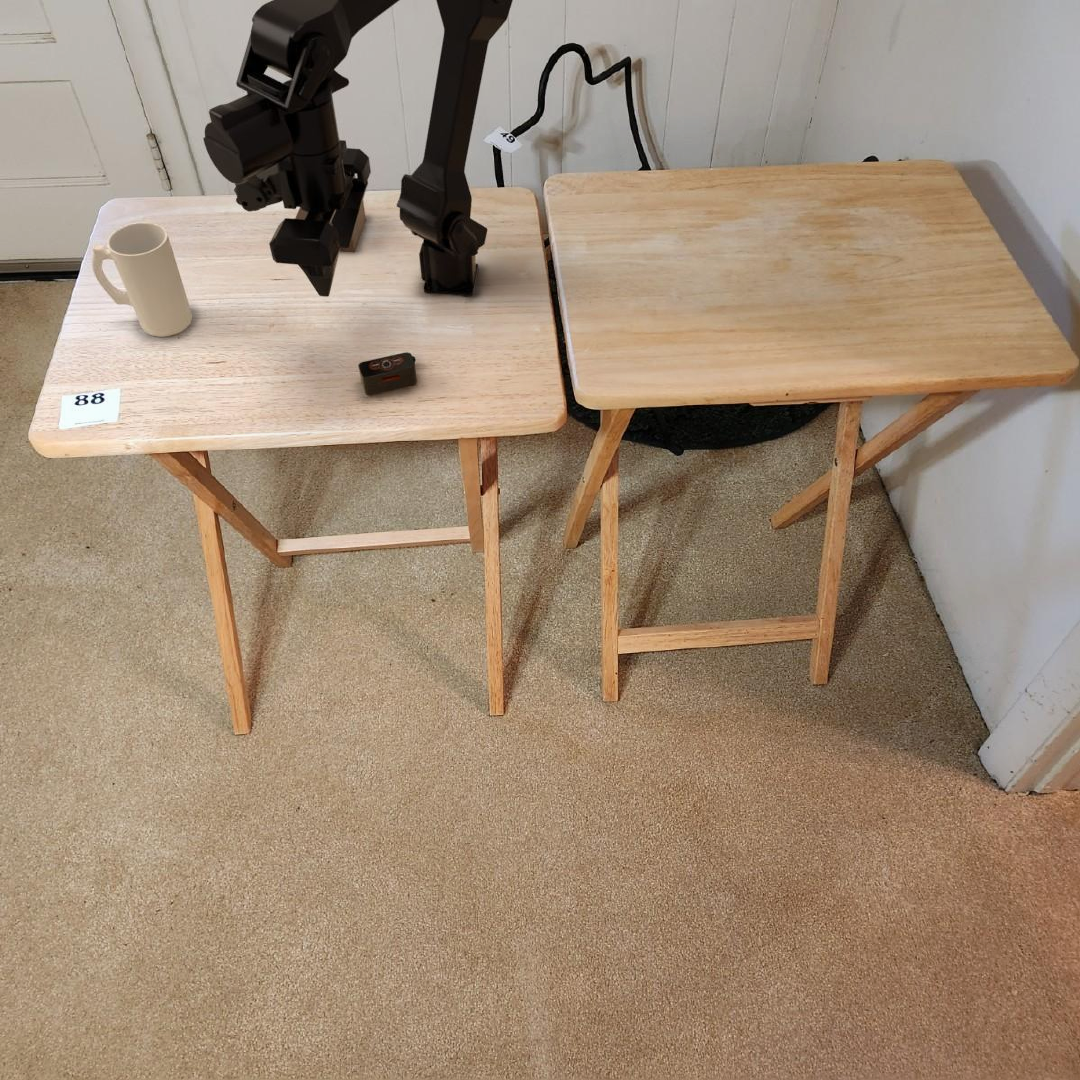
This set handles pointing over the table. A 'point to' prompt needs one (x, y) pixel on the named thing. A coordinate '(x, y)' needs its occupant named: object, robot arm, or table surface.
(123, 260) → the mug
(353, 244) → the walnut block
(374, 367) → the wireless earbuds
